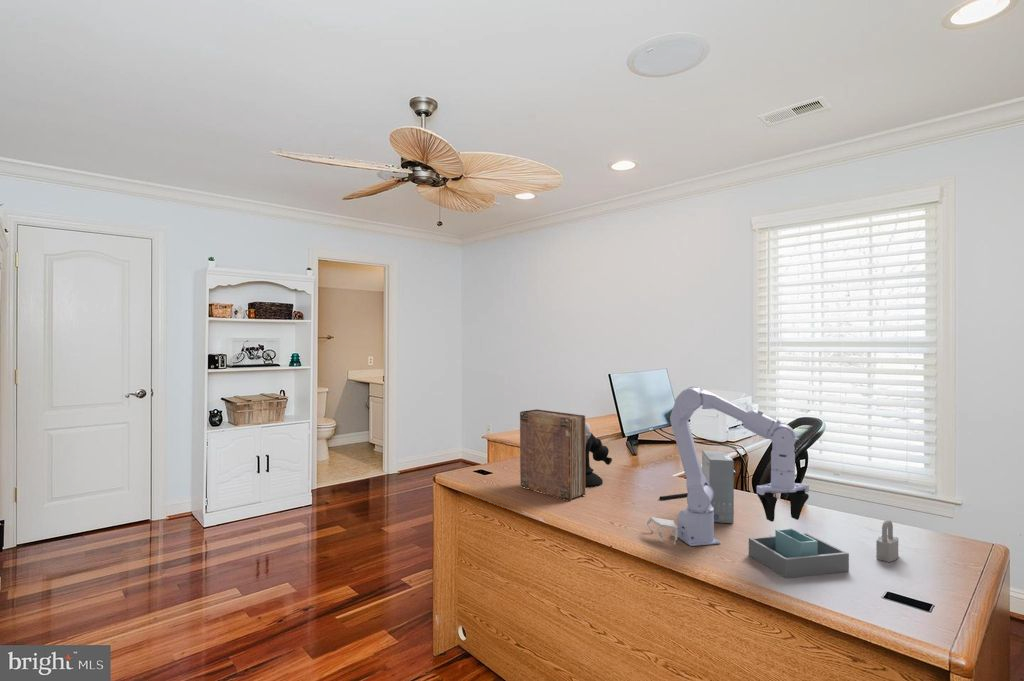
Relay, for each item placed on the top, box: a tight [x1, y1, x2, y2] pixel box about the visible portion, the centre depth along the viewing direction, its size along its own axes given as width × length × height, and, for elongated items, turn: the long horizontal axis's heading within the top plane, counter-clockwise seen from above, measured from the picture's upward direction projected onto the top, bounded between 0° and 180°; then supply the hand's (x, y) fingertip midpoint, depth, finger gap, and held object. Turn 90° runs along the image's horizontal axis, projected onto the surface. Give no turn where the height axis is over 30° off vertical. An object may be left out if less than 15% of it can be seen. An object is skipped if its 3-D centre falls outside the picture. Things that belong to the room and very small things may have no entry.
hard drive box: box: [701, 450, 735, 524], centre depth 171 cm, size 16×8×20 cm, turn 168°
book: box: [519, 409, 586, 502], centre depth 198 cm, size 25×9×30 cm, turn 44°
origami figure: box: [646, 516, 679, 545], centre depth 152 cm, size 12×8×5 cm
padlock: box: [875, 519, 899, 563], centre depth 138 cm, size 7×4×10 cm, turn 127°
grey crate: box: [748, 532, 850, 579], centre depth 135 cm, size 18×14×4 cm
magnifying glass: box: [658, 492, 688, 501], centre depth 193 cm, size 13×31×2 cm, turn 110°
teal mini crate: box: [774, 528, 818, 558], centre depth 135 cm, size 5×9×6 cm, turn 12°
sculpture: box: [585, 421, 613, 488], centre depth 214 cm, size 15×24×25 cm, turn 130°
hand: (782, 519), depth 140 cm, fingers open, 7 cm apart
